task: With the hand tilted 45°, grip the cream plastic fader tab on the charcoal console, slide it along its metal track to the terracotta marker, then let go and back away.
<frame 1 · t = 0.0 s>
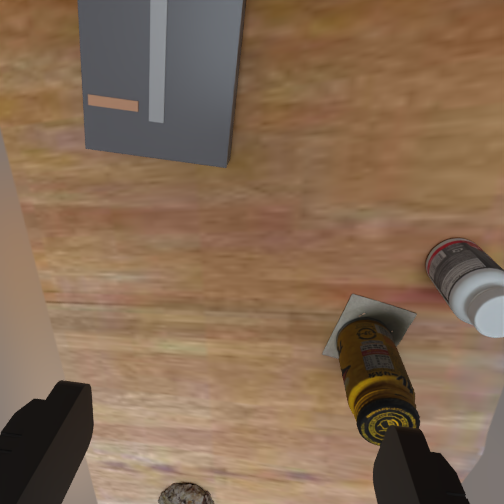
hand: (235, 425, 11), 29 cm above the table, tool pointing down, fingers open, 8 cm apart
mineral rock: (188, 500, 60), on the table
console: (169, 5, 32), on the table
condiment: (367, 332, 45), on the table
pill bottle: (451, 260, 41), on the table
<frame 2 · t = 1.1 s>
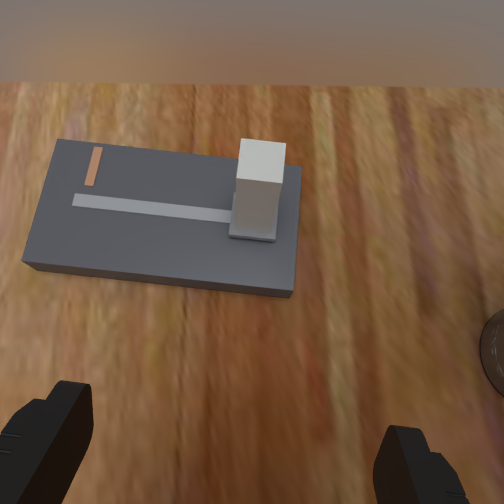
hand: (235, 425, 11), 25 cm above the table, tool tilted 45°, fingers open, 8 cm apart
fader tab: (257, 193, 31), point 8 cm above the table, slide at 0.0 cm
console: (174, 223, 39), on the table
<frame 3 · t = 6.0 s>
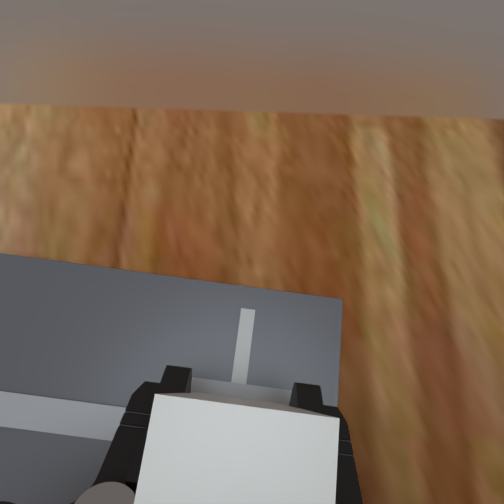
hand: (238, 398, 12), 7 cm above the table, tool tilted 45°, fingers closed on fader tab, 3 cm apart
fader tab: (232, 460, 11), point 8 cm above the table, slide at 0.0 cm, touching gripper
console: (66, 409, 18), on the table
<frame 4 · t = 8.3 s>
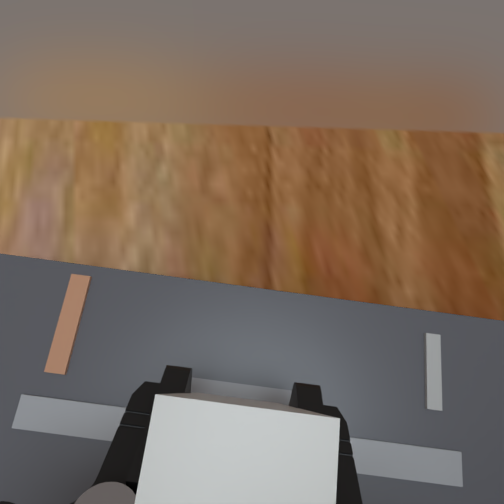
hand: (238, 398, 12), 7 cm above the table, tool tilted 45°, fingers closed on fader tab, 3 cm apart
fader tab: (233, 461, 11), point 8 cm above the table, slide at 7.8 cm, touching gripper
console: (238, 432, 18), on the table
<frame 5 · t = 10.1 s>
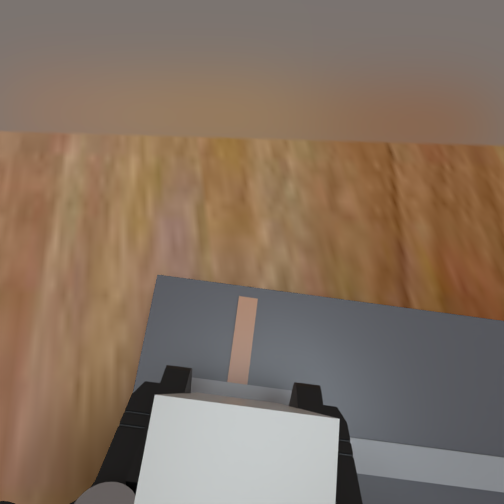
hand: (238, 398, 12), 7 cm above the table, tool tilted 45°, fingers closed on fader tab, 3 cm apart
fader tab: (232, 461, 11), point 8 cm above the table, slide at 14.9 cm, touching gripper
console: (394, 452, 19), on the table
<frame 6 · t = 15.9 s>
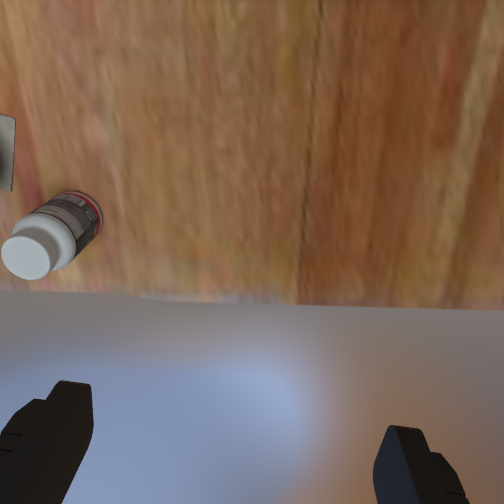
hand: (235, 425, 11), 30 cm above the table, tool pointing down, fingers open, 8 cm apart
pill bottle: (78, 214, 42), on the table
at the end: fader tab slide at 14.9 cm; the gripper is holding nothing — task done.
